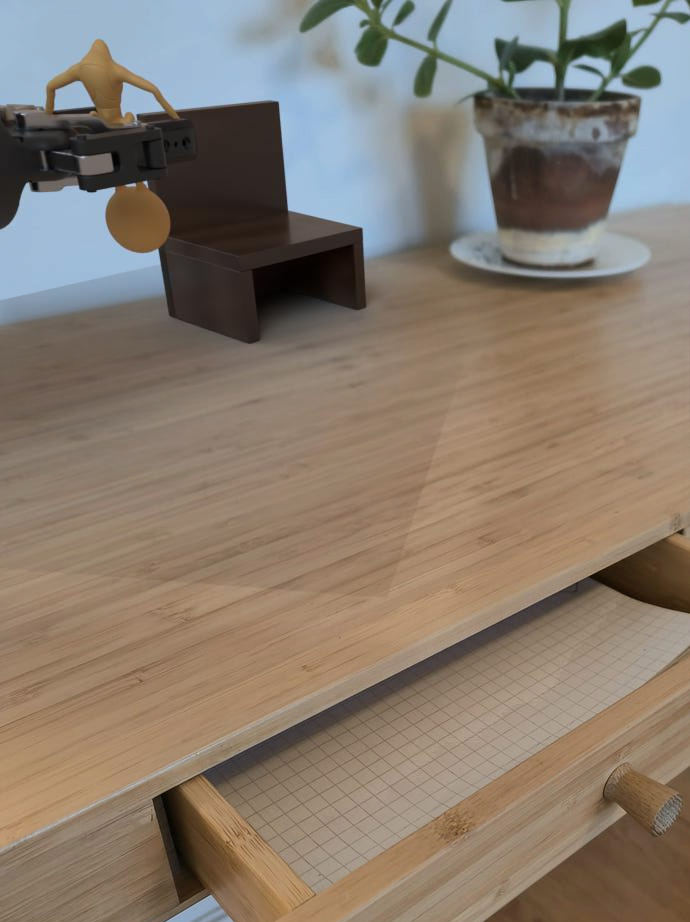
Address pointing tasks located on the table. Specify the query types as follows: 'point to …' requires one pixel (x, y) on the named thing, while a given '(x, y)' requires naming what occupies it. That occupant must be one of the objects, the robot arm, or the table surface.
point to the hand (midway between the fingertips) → (148, 132)
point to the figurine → (135, 207)
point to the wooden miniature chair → (245, 226)
